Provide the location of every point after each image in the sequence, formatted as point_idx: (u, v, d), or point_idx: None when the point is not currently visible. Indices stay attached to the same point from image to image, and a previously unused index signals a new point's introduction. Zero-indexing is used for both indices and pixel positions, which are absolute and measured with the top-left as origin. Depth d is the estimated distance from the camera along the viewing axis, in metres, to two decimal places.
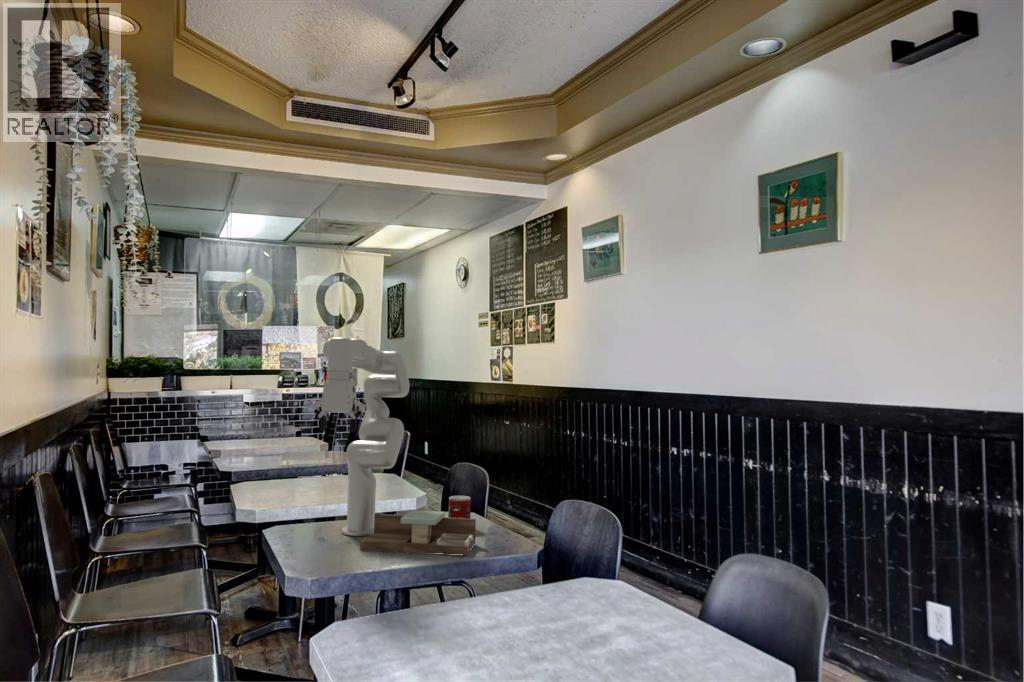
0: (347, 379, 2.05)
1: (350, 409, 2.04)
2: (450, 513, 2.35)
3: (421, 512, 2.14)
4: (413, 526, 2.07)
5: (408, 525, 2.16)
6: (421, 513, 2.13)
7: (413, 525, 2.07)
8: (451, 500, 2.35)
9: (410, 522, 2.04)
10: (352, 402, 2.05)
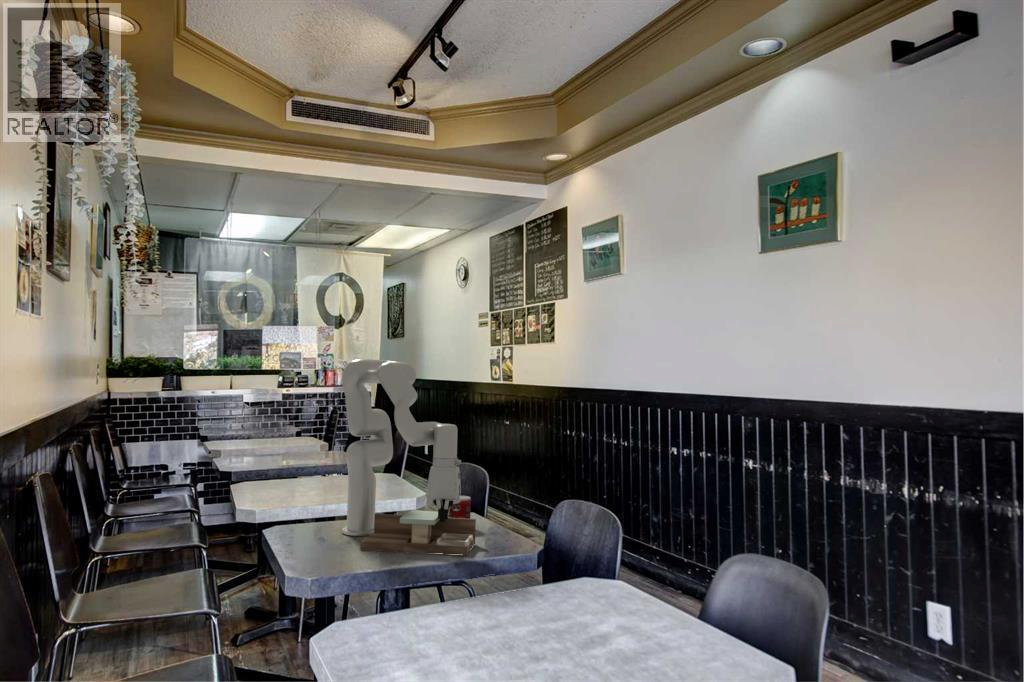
0: (453, 466, 2.07)
1: (456, 496, 2.06)
2: (450, 513, 2.35)
3: (420, 512, 2.14)
4: (413, 526, 2.07)
5: (408, 525, 2.16)
6: (420, 513, 2.13)
7: (413, 525, 2.07)
8: None
9: (409, 522, 2.04)
10: (458, 489, 2.07)
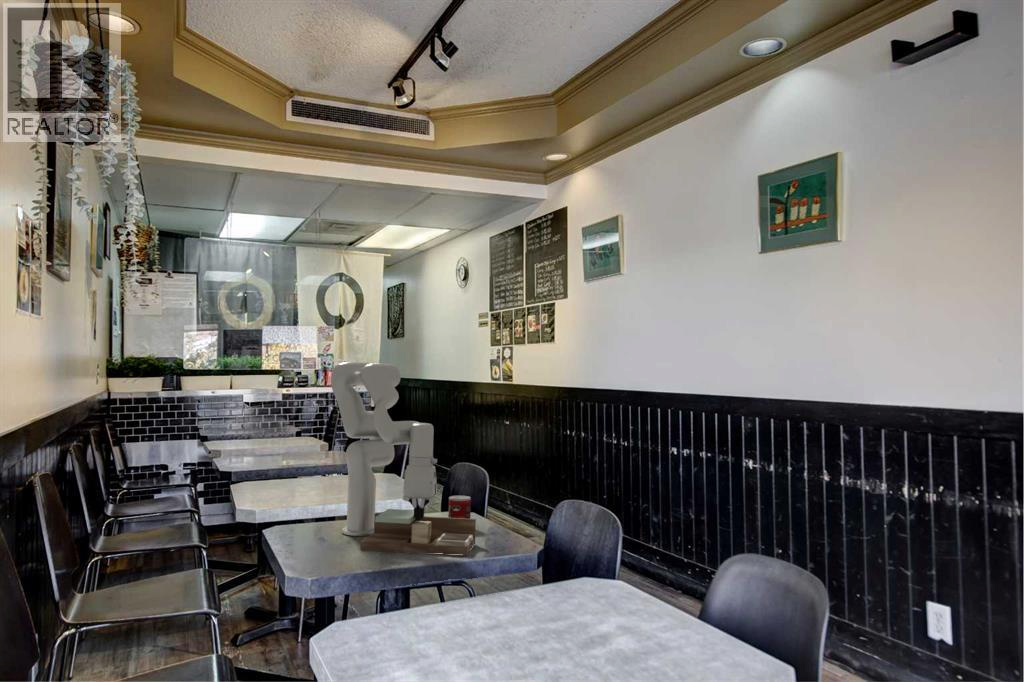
0: (429, 465, 2.08)
1: (432, 495, 2.07)
2: (450, 513, 2.35)
3: (397, 511, 2.15)
4: (413, 526, 2.07)
5: (408, 525, 2.16)
6: (397, 512, 2.14)
7: (413, 525, 2.07)
8: (451, 500, 2.35)
9: (385, 521, 2.05)
10: (434, 488, 2.08)
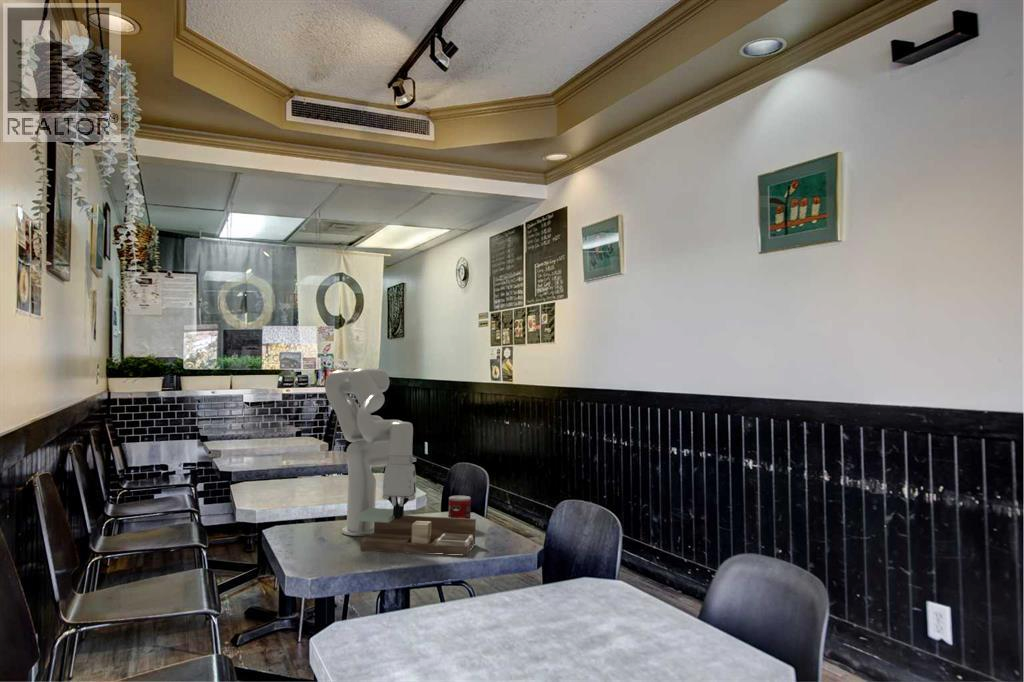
0: (408, 464, 2.09)
1: (411, 493, 2.08)
2: (450, 513, 2.35)
3: (377, 510, 2.16)
4: (413, 526, 2.07)
5: (408, 525, 2.16)
6: (377, 511, 2.15)
7: (413, 525, 2.07)
8: (451, 500, 2.35)
9: (364, 520, 2.06)
10: (413, 486, 2.09)
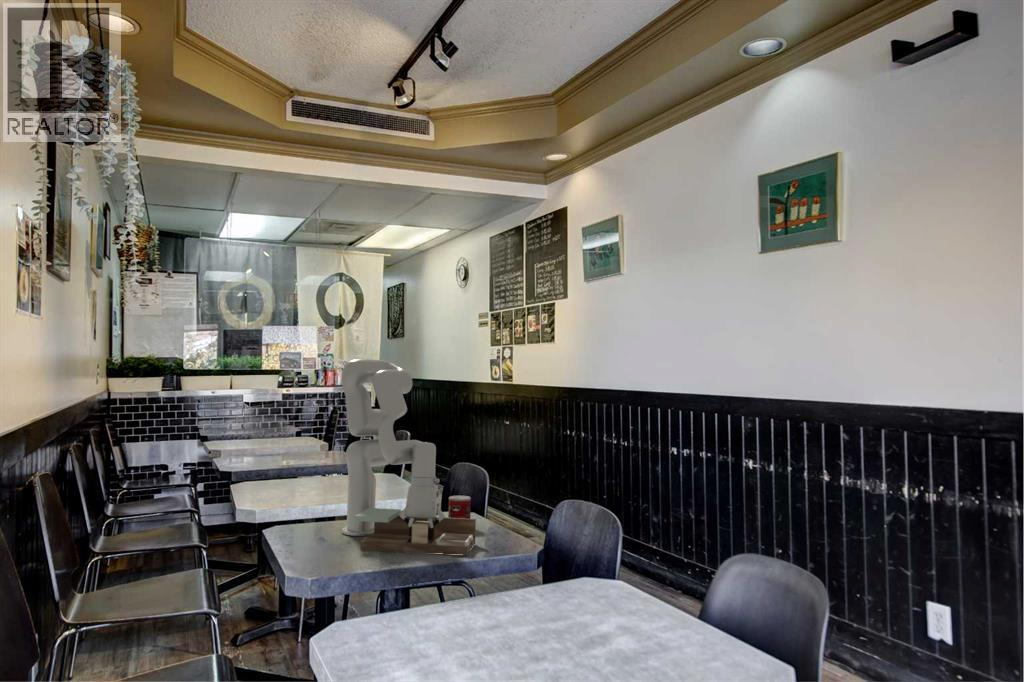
0: (431, 485, 2.07)
1: (434, 515, 2.07)
2: (450, 513, 2.35)
3: (377, 510, 2.16)
4: (413, 526, 2.07)
5: None
6: (376, 511, 2.15)
7: (413, 525, 2.07)
8: (451, 500, 2.35)
9: (364, 520, 2.06)
10: (436, 508, 2.07)
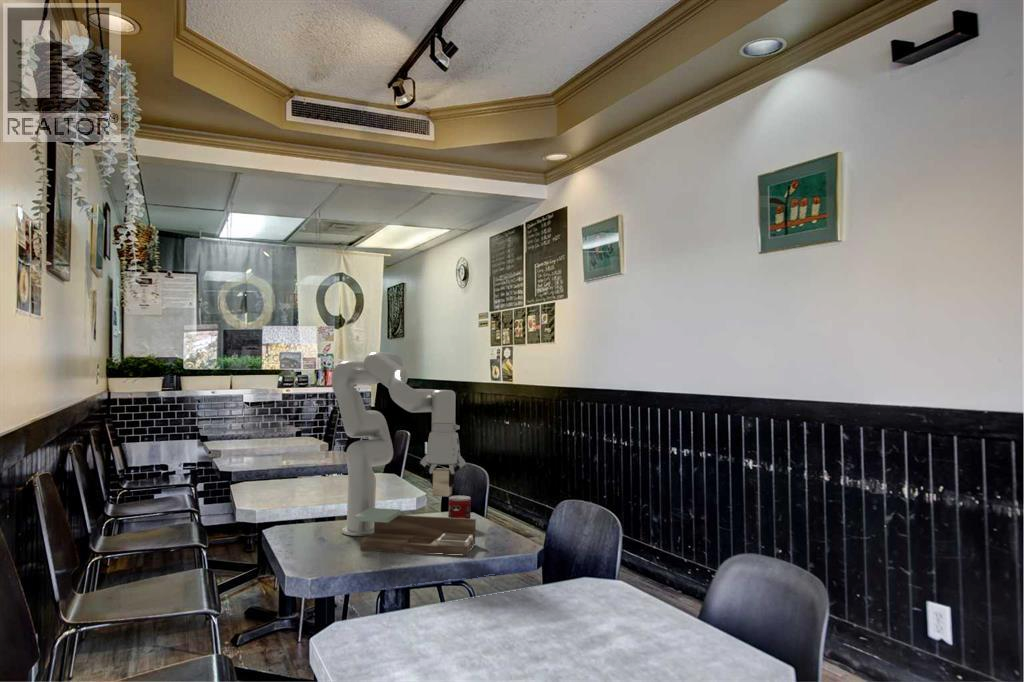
0: (452, 431, 2.07)
1: (455, 461, 2.07)
2: (450, 513, 2.35)
3: (377, 510, 2.16)
4: (434, 472, 2.07)
5: (408, 525, 2.16)
6: (376, 511, 2.15)
7: (434, 471, 2.07)
8: (451, 500, 2.35)
9: (364, 520, 2.06)
10: (457, 454, 2.07)
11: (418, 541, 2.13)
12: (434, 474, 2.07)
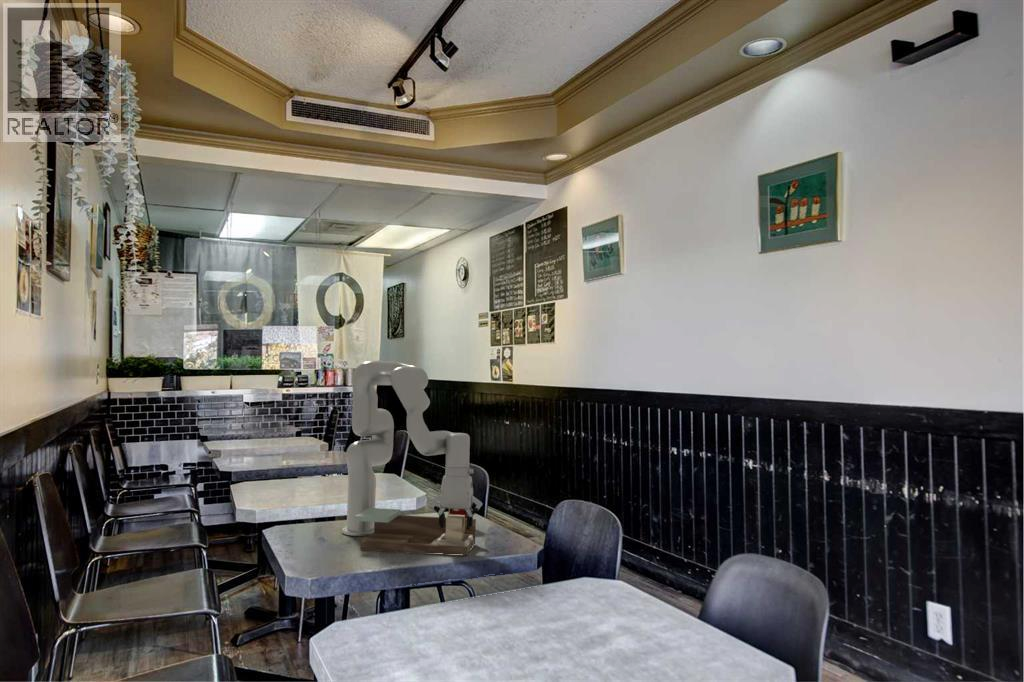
0: (466, 476, 2.06)
1: (469, 506, 2.06)
2: (450, 513, 2.35)
3: (377, 510, 2.16)
4: (447, 520, 2.05)
5: (408, 525, 2.16)
6: (376, 511, 2.15)
7: (447, 519, 2.05)
8: None
9: (364, 520, 2.06)
10: (471, 498, 2.06)
11: (418, 541, 2.13)
12: (447, 521, 2.05)
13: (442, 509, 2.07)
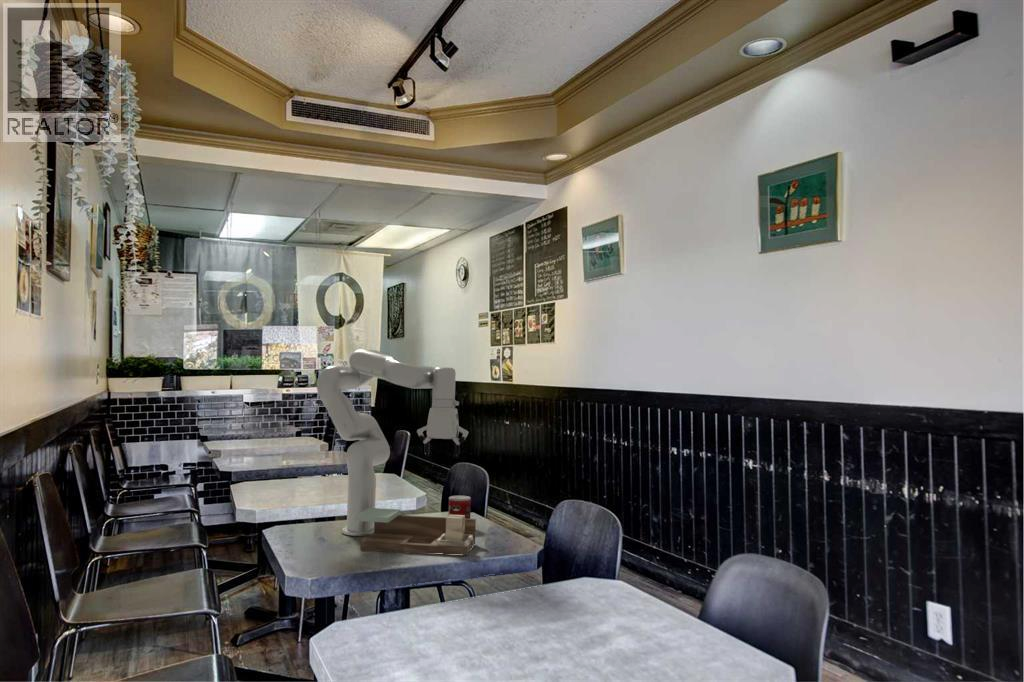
0: (451, 407, 2.16)
1: (454, 435, 2.15)
2: (450, 513, 2.35)
3: (377, 510, 2.16)
4: (447, 520, 2.05)
5: (408, 525, 2.16)
6: (376, 511, 2.15)
7: (447, 519, 2.05)
8: (451, 500, 2.35)
9: (364, 520, 2.06)
10: (456, 429, 2.16)
11: (418, 541, 2.13)
12: (447, 521, 2.05)
13: (428, 438, 2.17)
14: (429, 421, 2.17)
